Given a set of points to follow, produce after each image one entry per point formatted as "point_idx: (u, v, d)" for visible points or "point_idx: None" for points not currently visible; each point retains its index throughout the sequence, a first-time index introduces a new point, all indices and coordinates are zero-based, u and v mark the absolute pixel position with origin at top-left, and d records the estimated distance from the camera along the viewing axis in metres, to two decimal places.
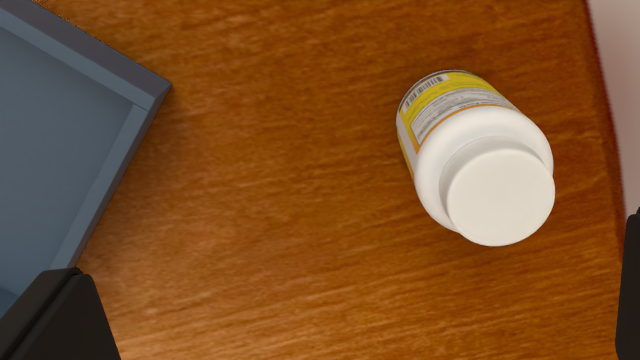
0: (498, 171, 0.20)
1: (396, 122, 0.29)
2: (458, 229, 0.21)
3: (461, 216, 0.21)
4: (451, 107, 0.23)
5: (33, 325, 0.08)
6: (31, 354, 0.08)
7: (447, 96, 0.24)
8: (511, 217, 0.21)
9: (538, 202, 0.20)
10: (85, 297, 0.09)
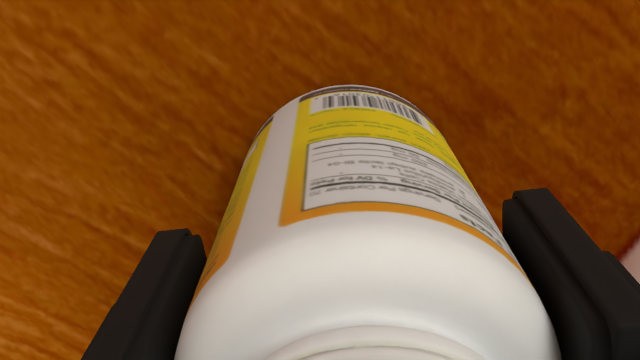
0: None
1: (278, 112, 0.13)
2: None
3: None
4: (440, 198, 0.08)
5: (166, 275, 0.09)
6: (171, 299, 0.08)
7: (429, 162, 0.09)
8: None
9: None
10: (198, 255, 0.10)
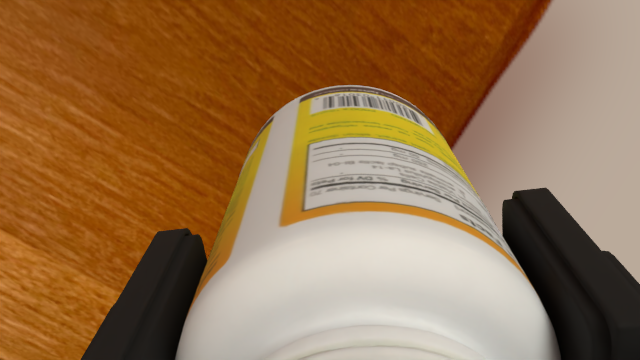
0: None
1: (278, 112, 0.13)
2: None
3: None
4: (441, 198, 0.08)
5: (166, 275, 0.09)
6: (171, 299, 0.08)
7: (430, 162, 0.09)
8: None
9: None
10: (198, 255, 0.10)
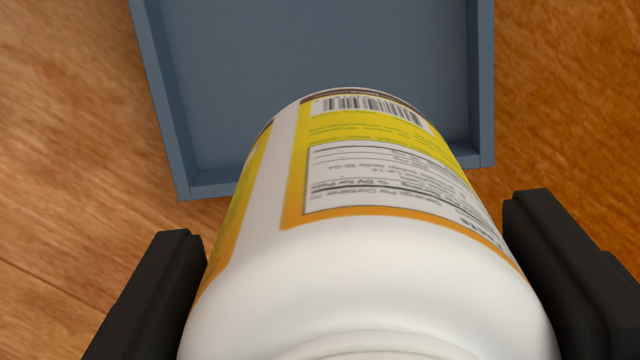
0: None
1: (279, 114, 0.13)
2: None
3: None
4: (441, 202, 0.08)
5: (166, 275, 0.09)
6: (171, 299, 0.08)
7: (430, 165, 0.09)
8: None
9: None
10: (198, 255, 0.10)
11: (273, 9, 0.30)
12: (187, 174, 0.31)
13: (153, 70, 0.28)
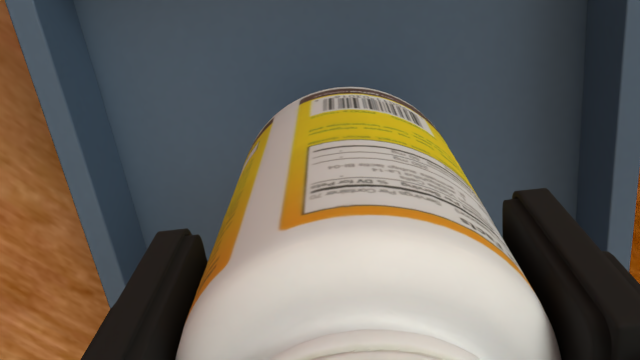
0: None
1: (278, 114, 0.13)
2: None
3: None
4: (440, 201, 0.08)
5: (166, 275, 0.09)
6: (171, 298, 0.08)
7: (430, 165, 0.09)
8: None
9: None
10: (198, 255, 0.10)
11: (277, 91, 0.19)
12: None
13: (84, 195, 0.18)
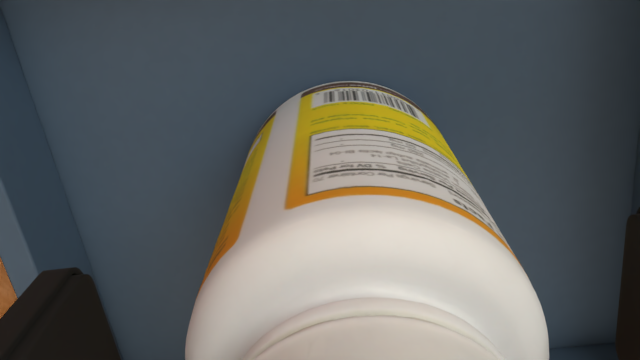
0: None
1: (281, 107, 0.14)
2: None
3: None
4: (435, 184, 0.09)
5: (33, 325, 0.08)
6: (32, 354, 0.08)
7: (425, 152, 0.10)
8: None
9: None
10: (85, 297, 0.09)
11: None
12: None
13: (18, 261, 0.14)
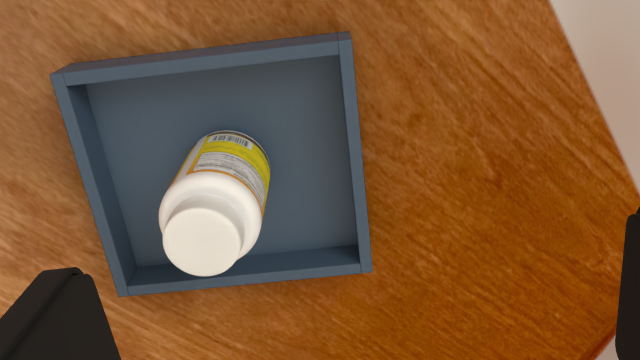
0: (214, 227, 0.28)
1: (199, 140, 0.36)
2: (163, 237, 0.28)
3: (172, 232, 0.28)
4: (230, 169, 0.30)
5: (33, 325, 0.08)
6: (31, 354, 0.08)
7: (236, 159, 0.32)
8: (197, 257, 0.28)
9: (218, 263, 0.28)
10: (85, 297, 0.09)
11: None
12: (126, 275, 0.38)
13: (95, 200, 0.35)
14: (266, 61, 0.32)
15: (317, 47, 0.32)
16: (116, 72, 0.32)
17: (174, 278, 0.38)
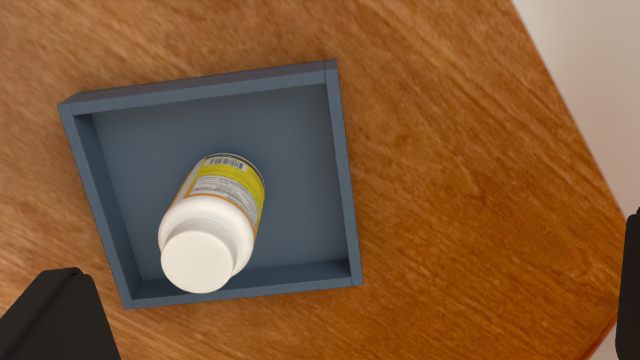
0: (208, 248, 0.30)
1: (197, 163, 0.38)
2: (161, 258, 0.30)
3: (169, 253, 0.30)
4: (224, 192, 0.32)
5: (33, 325, 0.08)
6: (31, 354, 0.08)
7: (230, 182, 0.34)
8: (193, 276, 0.30)
9: (213, 281, 0.31)
10: (85, 297, 0.09)
11: None
12: (131, 289, 0.41)
13: (100, 220, 0.38)
14: (257, 90, 0.34)
15: (304, 76, 0.34)
16: (118, 102, 0.35)
17: (176, 292, 0.41)
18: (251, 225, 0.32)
